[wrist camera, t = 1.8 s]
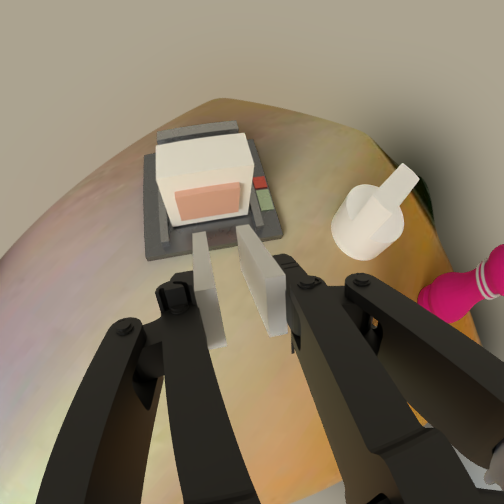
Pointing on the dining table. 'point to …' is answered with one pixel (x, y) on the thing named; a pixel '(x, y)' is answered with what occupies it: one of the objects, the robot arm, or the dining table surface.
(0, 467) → the dining table surface
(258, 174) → the track
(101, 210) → the dining table surface
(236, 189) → the white block
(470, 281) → the pepper mill
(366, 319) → the robot arm
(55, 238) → the dining table surface
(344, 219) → the base with upright slab
